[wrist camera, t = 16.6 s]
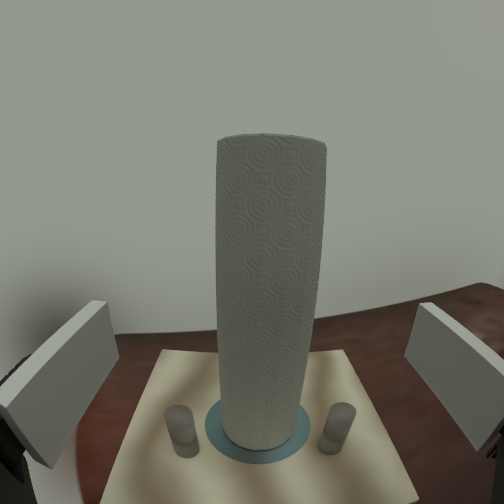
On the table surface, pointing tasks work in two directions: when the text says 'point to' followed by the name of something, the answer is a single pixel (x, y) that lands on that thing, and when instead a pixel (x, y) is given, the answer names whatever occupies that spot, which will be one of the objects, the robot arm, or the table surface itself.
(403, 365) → the table surface
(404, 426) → the table surface
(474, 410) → the robot arm
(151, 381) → the plate
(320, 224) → the paper towel roll
